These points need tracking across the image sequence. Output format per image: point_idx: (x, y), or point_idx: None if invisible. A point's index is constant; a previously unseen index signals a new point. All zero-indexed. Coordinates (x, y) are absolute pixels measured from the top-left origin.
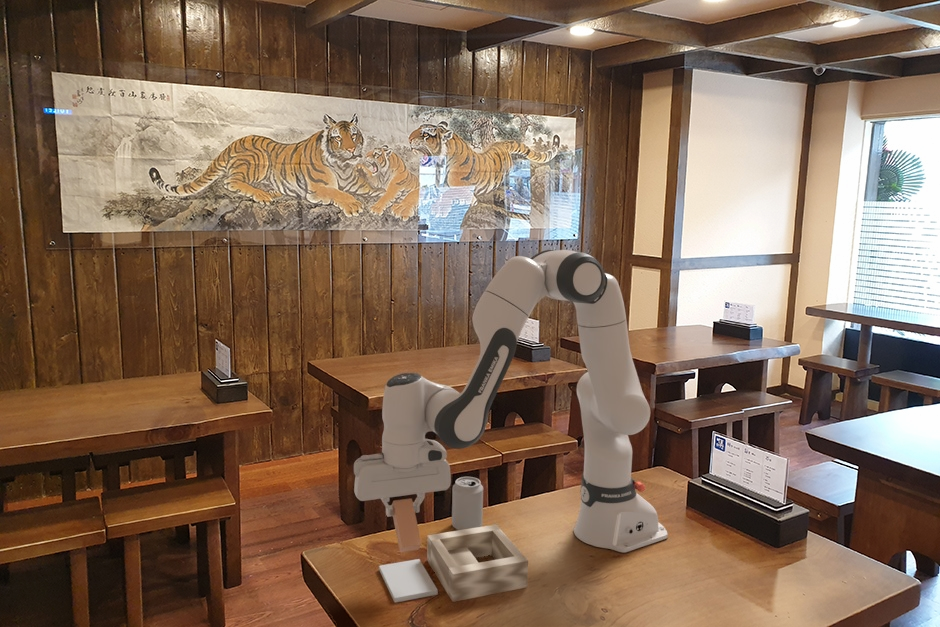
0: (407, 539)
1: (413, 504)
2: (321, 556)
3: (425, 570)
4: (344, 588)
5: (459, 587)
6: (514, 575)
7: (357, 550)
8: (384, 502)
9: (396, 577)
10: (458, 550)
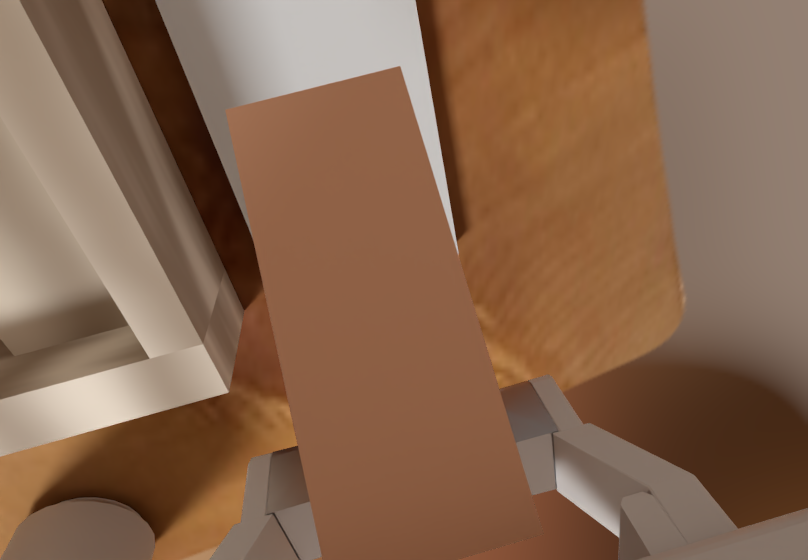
0: (358, 136)
1: (309, 525)
2: (644, 337)
3: (242, 206)
4: (610, 111)
5: None
6: None
7: (519, 374)
8: (675, 481)
9: None
10: (59, 327)
